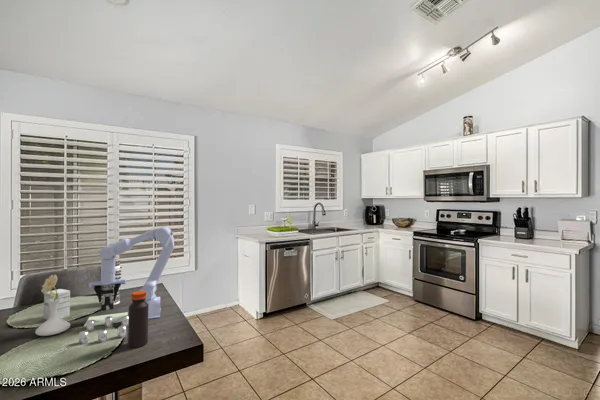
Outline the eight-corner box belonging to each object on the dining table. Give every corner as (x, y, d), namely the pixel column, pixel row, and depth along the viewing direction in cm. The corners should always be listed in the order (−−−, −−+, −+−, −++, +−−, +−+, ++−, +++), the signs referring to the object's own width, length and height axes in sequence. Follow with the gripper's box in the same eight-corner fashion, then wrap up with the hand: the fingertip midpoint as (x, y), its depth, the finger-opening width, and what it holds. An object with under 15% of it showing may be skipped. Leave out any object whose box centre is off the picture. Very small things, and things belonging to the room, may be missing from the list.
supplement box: (42, 319, 138) (43, 292, 138) (60, 314, 145) (61, 288, 145) (52, 322, 135) (53, 294, 135) (70, 316, 142) (70, 290, 142)
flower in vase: (35, 331, 125) (37, 272, 125) (69, 324, 132) (71, 269, 132) (34, 342, 115) (35, 278, 115) (71, 334, 122) (72, 274, 122)
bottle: (143, 338, 119) (144, 289, 120) (150, 343, 115) (151, 292, 116) (125, 344, 114) (126, 292, 115) (132, 350, 110) (133, 296, 110)
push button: (97, 312, 132) (97, 289, 134) (96, 310, 137) (96, 288, 138) (114, 309, 137) (115, 287, 138) (113, 307, 141) (113, 286, 142)
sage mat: (128, 312, 147) (128, 312, 147) (125, 321, 136) (125, 320, 136) (89, 317, 140) (89, 316, 140) (83, 327, 129) (83, 326, 129)
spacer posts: (129, 322, 135) (130, 313, 135) (125, 338, 119) (125, 328, 119) (87, 328, 128) (87, 319, 129) (76, 346, 112) (77, 336, 112)
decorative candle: (104, 301, 164) (105, 256, 164) (122, 299, 167) (123, 255, 167) (98, 306, 155) (99, 259, 156) (118, 305, 158) (119, 258, 158)
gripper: (87, 275, 132) (86, 305, 132) (124, 272, 138) (124, 301, 138) (91, 271, 138) (90, 300, 138) (126, 269, 144) (126, 297, 144)
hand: (107, 300), depth 138 cm, fingers closed on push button, 5 cm apart
